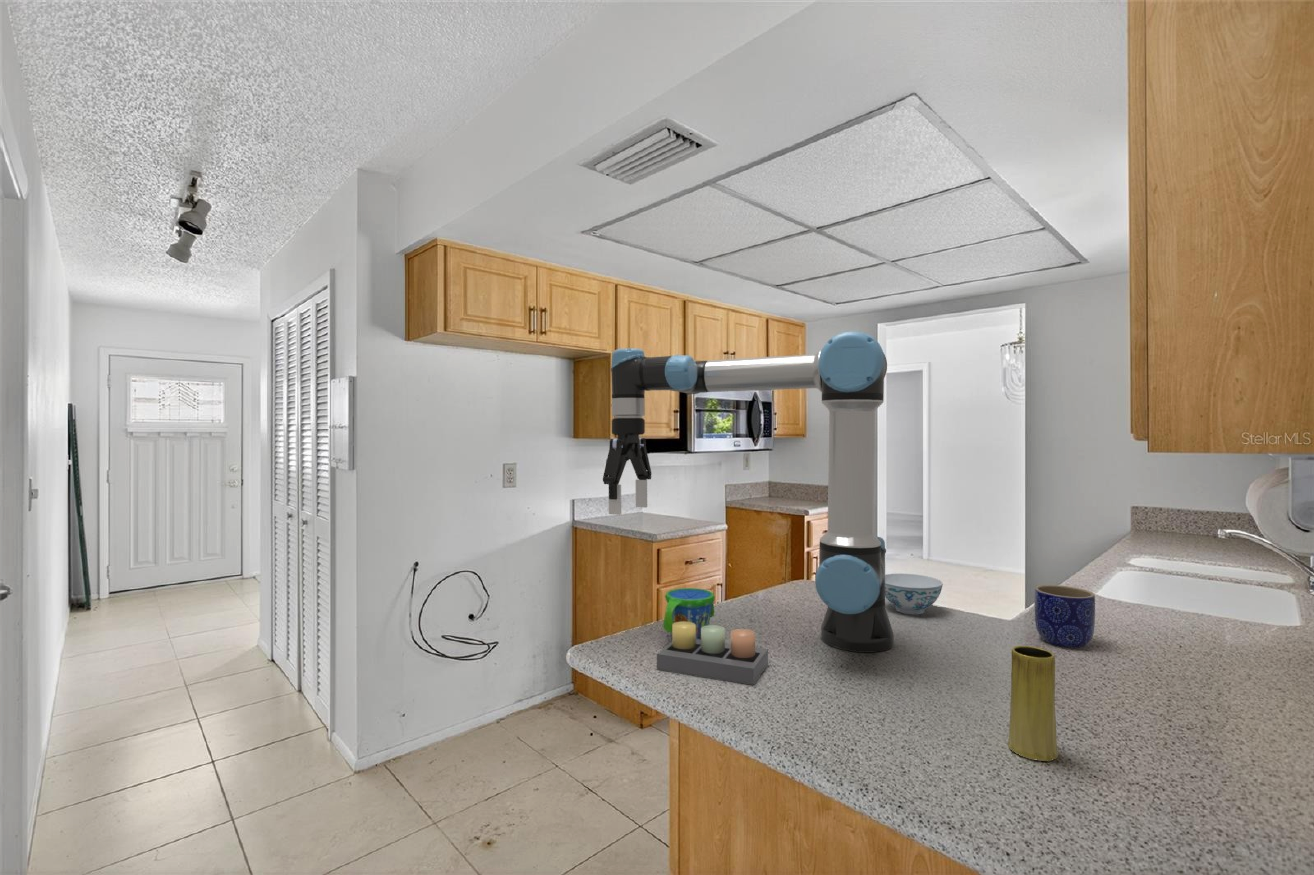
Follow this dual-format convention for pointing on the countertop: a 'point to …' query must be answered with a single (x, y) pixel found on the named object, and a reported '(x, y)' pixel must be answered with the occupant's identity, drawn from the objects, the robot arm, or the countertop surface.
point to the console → (713, 663)
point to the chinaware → (912, 592)
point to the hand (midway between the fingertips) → (628, 510)
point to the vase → (1033, 703)
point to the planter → (1064, 615)
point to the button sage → (713, 639)
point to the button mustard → (683, 635)
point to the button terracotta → (743, 643)
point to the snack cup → (689, 608)
